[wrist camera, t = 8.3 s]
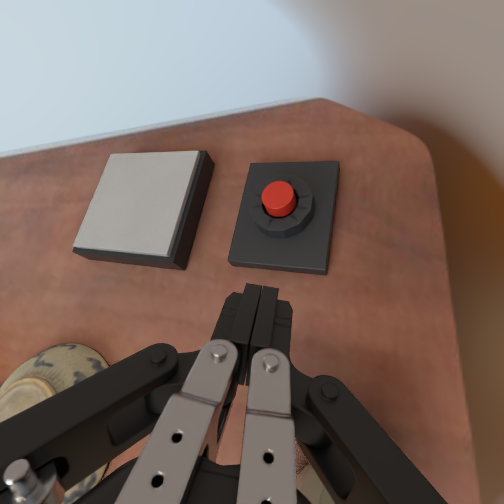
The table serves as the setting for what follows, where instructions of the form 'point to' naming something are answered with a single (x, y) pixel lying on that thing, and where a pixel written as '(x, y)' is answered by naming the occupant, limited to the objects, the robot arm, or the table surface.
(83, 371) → the decorative bowl
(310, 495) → the cup
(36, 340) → the table surface
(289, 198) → the button
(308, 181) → the panel
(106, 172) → the scale
